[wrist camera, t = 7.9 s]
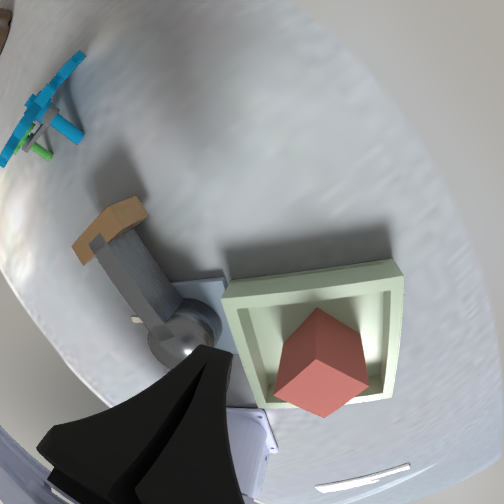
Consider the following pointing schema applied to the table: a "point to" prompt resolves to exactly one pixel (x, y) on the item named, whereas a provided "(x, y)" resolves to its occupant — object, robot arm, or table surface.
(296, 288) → the tray
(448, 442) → the table surface
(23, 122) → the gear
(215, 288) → the crank base
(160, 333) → the crank
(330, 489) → the butcher knife
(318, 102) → the table surface
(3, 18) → the plant pot
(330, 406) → the block
